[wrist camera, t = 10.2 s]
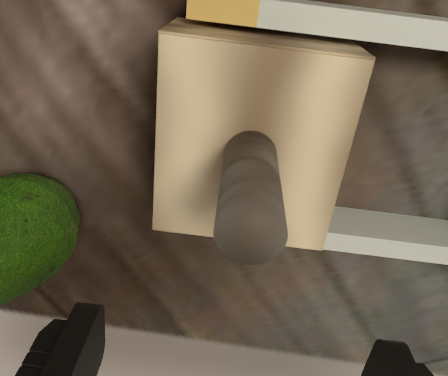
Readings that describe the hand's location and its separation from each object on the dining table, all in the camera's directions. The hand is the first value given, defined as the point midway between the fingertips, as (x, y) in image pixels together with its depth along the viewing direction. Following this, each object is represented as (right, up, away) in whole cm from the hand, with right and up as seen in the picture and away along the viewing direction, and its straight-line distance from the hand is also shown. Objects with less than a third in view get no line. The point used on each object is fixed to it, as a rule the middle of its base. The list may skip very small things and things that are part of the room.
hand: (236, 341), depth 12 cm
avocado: (-15, +4, +22) cm, 27 cm away
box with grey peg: (+2, +10, +18) cm, 20 cm away
